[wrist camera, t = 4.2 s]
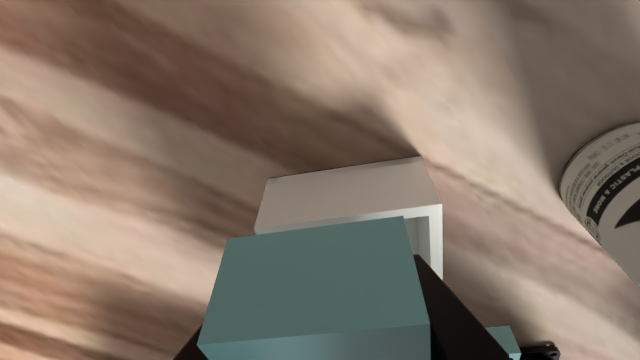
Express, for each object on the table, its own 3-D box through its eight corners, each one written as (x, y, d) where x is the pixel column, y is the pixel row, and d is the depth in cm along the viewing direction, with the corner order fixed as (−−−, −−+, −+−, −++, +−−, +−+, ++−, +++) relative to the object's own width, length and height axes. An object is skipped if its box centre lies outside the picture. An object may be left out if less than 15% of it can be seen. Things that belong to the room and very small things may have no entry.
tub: (267, 178, 21) (253, 228, 17) (421, 155, 20) (442, 203, 16) (314, 322, 28) (311, 379, 25) (428, 311, 27) (443, 369, 23)
